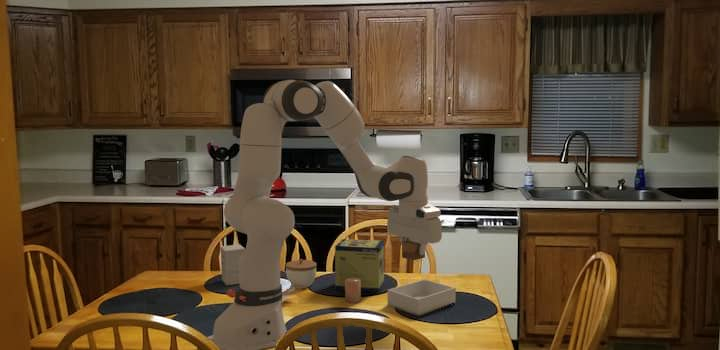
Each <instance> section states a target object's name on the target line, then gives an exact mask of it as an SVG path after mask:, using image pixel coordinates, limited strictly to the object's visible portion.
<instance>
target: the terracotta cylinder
mask: <svg viewBox="0 0 720 350" xmlns="http://www.w3.org/2000/svg"><path fill="white" fill-rule="evenodd" d="M361 292H362V291H361V280H360V279H358V278H348V279H345V290H344V302H345V303H346V304H350V305H355V304H359V303H361V302H362V301H361V300H362V296H361V294H362V293H361Z"/></svg>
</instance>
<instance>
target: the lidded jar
mask: <svg viewBox="0 0 720 350" xmlns="http://www.w3.org/2000/svg"><path fill="white" fill-rule="evenodd" d="M285 275H286V278H287V281H288V280H289V281H290V282H291V283H292V284H293V285H292V284H291V283H290V282H289V281H288V282H289V283H290V284H291V285H292V287H293V286H294V287H293V288H295V289H304V288H308V287H309V288H310V286H311V285H312V284H313V282H314V281H315V279H316V277H317V276H316V275H317V262H315V261H313V260H308V259H302V258H299V259H296V260H291V261H288V262H286V263H285Z"/></svg>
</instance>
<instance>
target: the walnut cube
mask: <svg viewBox="0 0 720 350" xmlns="http://www.w3.org/2000/svg"><path fill="white" fill-rule="evenodd" d="M420 246H421V244H420V241H419V240H414V239H408V240H407V239H406V241H403V242H402V244H401V258H402V259H406V260H410V261H417V260H421V259H425V258H426V253H425V254H424V255H419V254H417V252H418V251H417V249H419V248H420Z"/></svg>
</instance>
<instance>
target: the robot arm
mask: <svg viewBox="0 0 720 350" xmlns="http://www.w3.org/2000/svg"><path fill="white" fill-rule="evenodd" d="M312 118H313V119H315V120H316V121H317V122H318V124H319V125H320V127H321V128H322V130H323V131H324V132H325V133H326V135H327V137H329V139H331V141H332V142H333V143H334V145H335V146H336V147H337V149H338V150H339V152H340V153H341V155H342V156H343V158H344V159H345V161H346V163H347V164H348V165H349V167H350V169H351V170H352V171H353V174H354V176H355V179H356V183H357V187H358V190H359V191H360V192H361V194H363V195H364V196H366V197H369V198H373V199H375V198H376V199H379V200H382V201H387V202H395V201H398V205H396V204H392V205H391V206H390V207H389V209H388V216H387V222H386V231H387V233H388V234H389V235H392V236H393V235H394V236H398V239H399V242H400V244H401V245H402V242H403V241H407V239H409V240H411V239H414V240H419V241H420V244H421V246H420V248H419V249H417V251H418V252H417V254H419V255H424V254H425V255H426V248H427V246H428V244H433V245H434V244H437V243H440V242H441V240H442V237H443V233H442V232H443V229H442V228H443V227H442V221H441V219H440V217H441V215H442V212H441V209H440V208H438V207H436V206H434V205H433V204H431V202H429V201H428V200H429V198H428V193H427V191H428V190H427V189H428V186H429V183H428V182H429V180H428V165H427V163H426V160H424V158H422V157H417V156H411V155H402V156H401V157H400V159H399V160H398V161H396V162H394V163H393V164H391V165H390V166H387V167H384V166H380V165H379V164H376V163H374V162H373V161H372V160H371V158H370V157H369V156H368V155H369V154H368V153H367V152H366V151H365V148H363V147H364V146H362V144H361V142H360V139H361V137H362V136H363V134H364V131H365V126H366V125H365V122H364V119H363V117H362V115H361V113H360V112H359V109H357V108H356V106H355V105H354V104H353V102H352V101H351V99H350V98H349V96H347V95H346V93H344V91H342V90H341V88H340V87H339V86H337V85H336V84H335V83H334V82H332V81H331V80H326V81H320V82H318V83H316V84H313V83H311V82H309V81H306V80H301V79H299V80H298V79H297V80H295V79H285V80H282V81H276V82H274V83H272V84H271V85H270V86H269V87H268V88H267V89H266V90H265V92H264V95H263V97H262V98H261V100H260V101H259V102H258V103H253V104H251V105H250V106H248V107H247V108H246V109H245V111H244V113H243V117H242V121H241V122H242V123H241V127H240V136H239V137H240V138H239V156H238V157H239V160H238V161H239V162H238V172H237V178H236V181H235V185H234V187H233V188H234V189H233V192H232V195H231V197H230V198H229V199H228V200H227V201H226V203H225V205H224V208H223V215H224V219H225V221H226V223H227V224H229V226H230V227H231V228H233V229H234V230H235V231H237V232H240V233H242V234H246V236H247V243H246V246H245V252H244V254H242V256H241V257H240V259H239V279H240V284H239V285H238V288H237V290H236V291H235V290H234V289H231V288H230V289H229V288H228V290H227V291H226V296H227V297H229V298H231V299H234V300H233V302H232V303H231V304H230V305H229V306H228V307H227V308H226V309H225V310H224V311H223V312H222V313H221V314H220V315H219V316H218V317H217V318H216V319H215V321H214V325H213V329H212V330H213V331H212V332H213V333H212V335H209V336H207V337H206V338H208V339H210V340H211V341H212V342H213V343H214V344H215V345H216V346H217V347H218V348H219V350H263V349H268V348H273V347H277V346H276V344H277V343H278V341H279V340H280V338H281V337H282V336H283V335H284V334H285V333H286V332H287V333H288V330H287V327H286V324H285V320H284V314H283V305H282V302H283V301H282V300H283V285H282V284H281V256H282V255H281V254H282V250H283V248H284V247H283V246H284V243H285V240H286V239H287V238H288V237H289V236H290V235H291V233H292V232H293V230H294V228H295V223H296V222H295V221H296V219H295V218H296V217H295V214H294V212H293V210H292V209H291V208H290V207H289V206H287V205H286V204H285V203H283V202H282V201H280V200H278V199H274V198H271V197H270V196H271V195H270V194H271V190H272V188H273V185H274V182H275V181H276V180H278V178H279V177H280V174H281V168H282V167H281V166H282V142H283V141H282V133H283V131H284V127H285V125H286V123H287V122H304V121H307V120H310V119H312Z"/></svg>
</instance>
